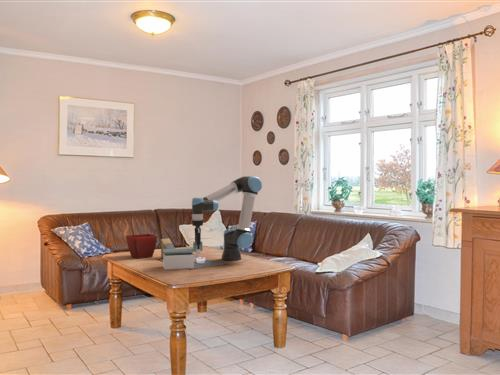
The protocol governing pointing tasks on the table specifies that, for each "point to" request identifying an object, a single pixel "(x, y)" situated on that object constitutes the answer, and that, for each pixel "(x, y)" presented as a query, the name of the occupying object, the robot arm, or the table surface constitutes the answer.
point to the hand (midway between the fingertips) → (197, 253)
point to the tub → (178, 260)
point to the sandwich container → (166, 245)
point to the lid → (183, 249)
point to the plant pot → (141, 245)
